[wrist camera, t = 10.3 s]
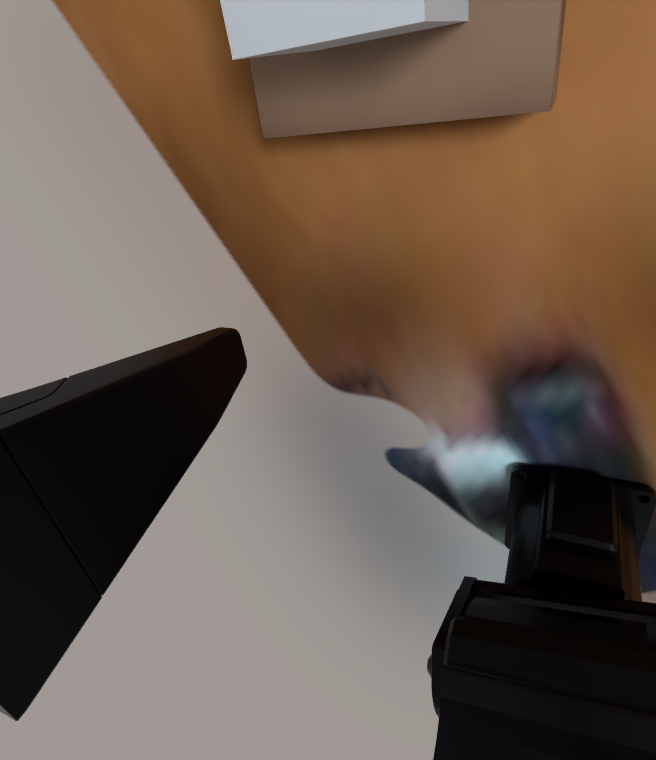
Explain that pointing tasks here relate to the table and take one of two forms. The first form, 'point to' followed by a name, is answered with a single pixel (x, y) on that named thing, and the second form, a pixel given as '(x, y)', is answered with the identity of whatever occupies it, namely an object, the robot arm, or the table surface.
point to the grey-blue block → (328, 22)
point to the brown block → (418, 74)
